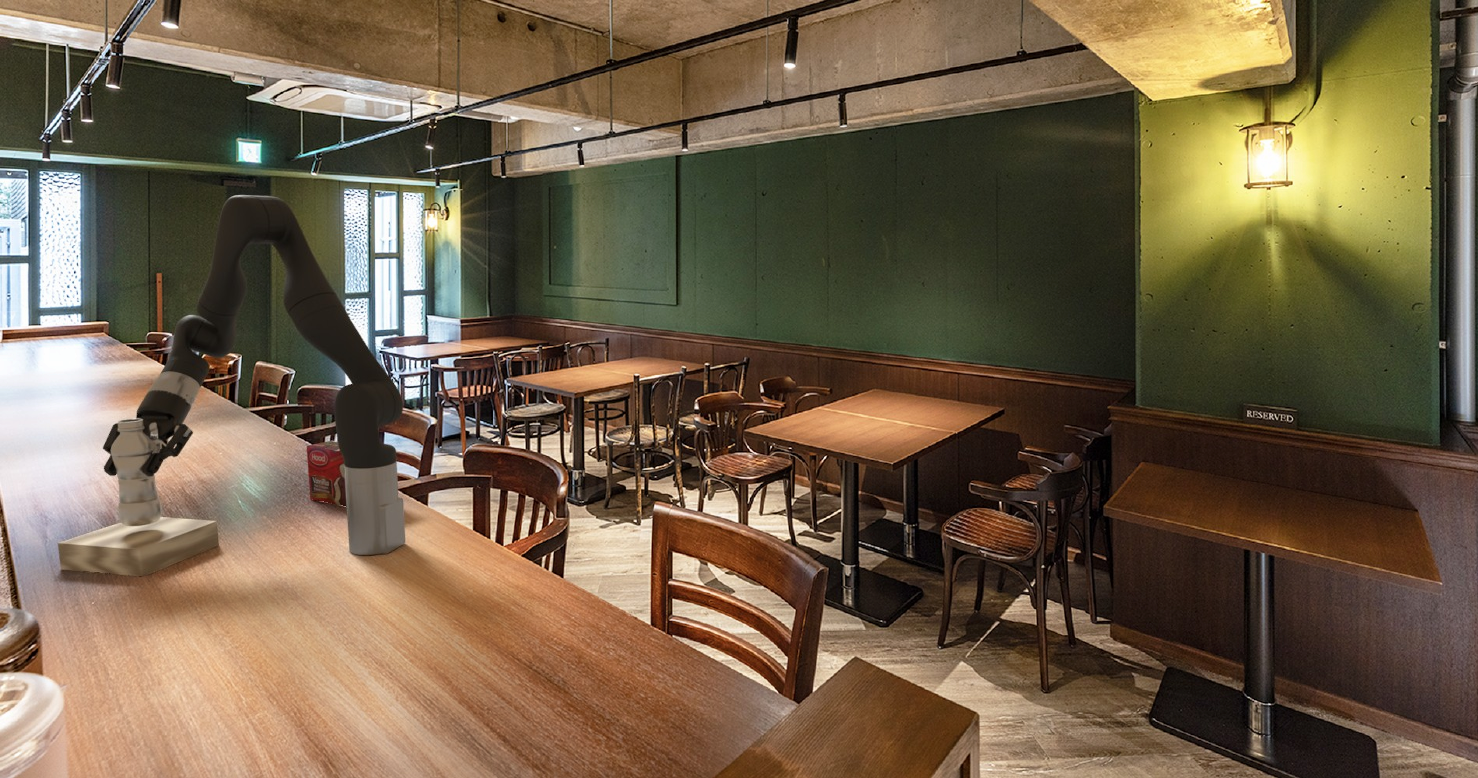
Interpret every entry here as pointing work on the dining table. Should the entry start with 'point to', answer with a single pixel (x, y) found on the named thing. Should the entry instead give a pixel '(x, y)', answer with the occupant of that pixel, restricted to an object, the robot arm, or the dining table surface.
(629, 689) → the dining table surface
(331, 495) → the ice cream box
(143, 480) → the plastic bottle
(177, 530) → the oak pedestal
